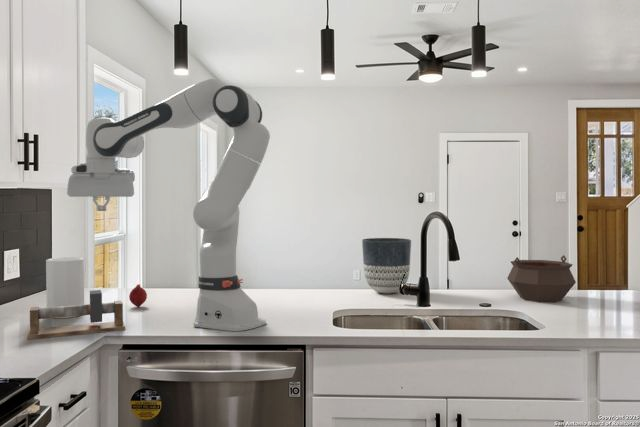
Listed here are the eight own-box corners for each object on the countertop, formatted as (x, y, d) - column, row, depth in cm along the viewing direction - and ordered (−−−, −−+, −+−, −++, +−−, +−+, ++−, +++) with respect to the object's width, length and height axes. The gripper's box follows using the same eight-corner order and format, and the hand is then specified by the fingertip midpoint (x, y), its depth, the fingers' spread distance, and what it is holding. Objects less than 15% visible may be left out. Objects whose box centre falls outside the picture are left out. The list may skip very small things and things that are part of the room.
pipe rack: (122, 324, 166) (122, 299, 165) (125, 329, 158) (124, 304, 158) (29, 332, 155) (29, 306, 155) (27, 339, 148) (27, 311, 148)
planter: (409, 289, 228) (409, 238, 228) (412, 297, 209) (412, 241, 208) (362, 288, 230) (362, 237, 230) (361, 296, 211) (361, 241, 210)
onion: (141, 308, 189) (141, 285, 189) (126, 308, 190) (125, 285, 190) (149, 305, 194) (149, 283, 194) (135, 305, 196) (134, 282, 195)
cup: (91, 312, 183) (91, 257, 182) (68, 319, 172) (67, 261, 172) (63, 310, 186) (62, 256, 185) (38, 317, 175) (37, 260, 174)
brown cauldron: (536, 307, 190) (536, 260, 190) (493, 295, 213) (494, 253, 213) (590, 302, 198) (591, 257, 197) (544, 292, 220) (544, 251, 220)
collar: (101, 317, 162) (100, 289, 162) (102, 321, 157) (101, 293, 156) (90, 318, 161) (89, 290, 161) (90, 322, 155) (90, 294, 155)
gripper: (133, 169, 185) (134, 210, 185) (67, 168, 176) (67, 211, 177) (135, 168, 179) (136, 210, 179) (66, 167, 170) (67, 211, 171)
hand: (101, 210), depth 178 cm, fingers closed
